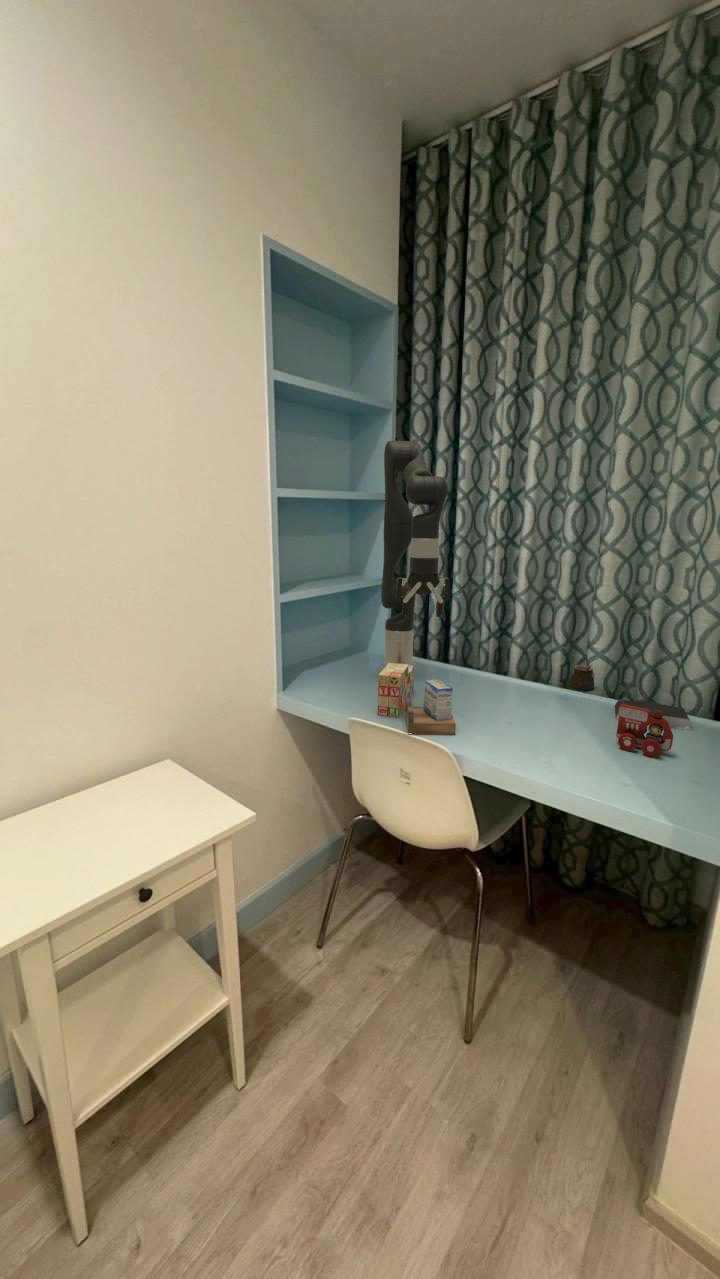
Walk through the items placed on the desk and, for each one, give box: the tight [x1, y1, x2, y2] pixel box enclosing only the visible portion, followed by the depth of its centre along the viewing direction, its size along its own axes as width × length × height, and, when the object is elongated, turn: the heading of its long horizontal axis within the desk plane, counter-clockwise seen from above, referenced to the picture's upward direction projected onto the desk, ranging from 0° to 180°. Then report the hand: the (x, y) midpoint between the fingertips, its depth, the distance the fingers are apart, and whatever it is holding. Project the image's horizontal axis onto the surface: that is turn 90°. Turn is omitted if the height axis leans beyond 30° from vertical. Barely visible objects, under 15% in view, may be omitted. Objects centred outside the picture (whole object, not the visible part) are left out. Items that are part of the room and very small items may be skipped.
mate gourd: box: [569, 664, 595, 692], centre depth 170 cm, size 7×8×10 cm
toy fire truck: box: [615, 704, 674, 758], centre depth 129 cm, size 7×12×10 cm, turn 52°
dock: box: [404, 696, 457, 736], centre depth 142 cm, size 12×12×6 cm
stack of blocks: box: [377, 663, 415, 719], centre depth 157 cm, size 21×6×12 cm, turn 164°
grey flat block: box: [614, 699, 692, 731], centre depth 148 cm, size 12×18×4 cm
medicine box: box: [423, 679, 454, 721], centre depth 141 cm, size 8×4×9 cm, turn 19°
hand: (422, 616), depth 144 cm, fingers open, 8 cm apart
